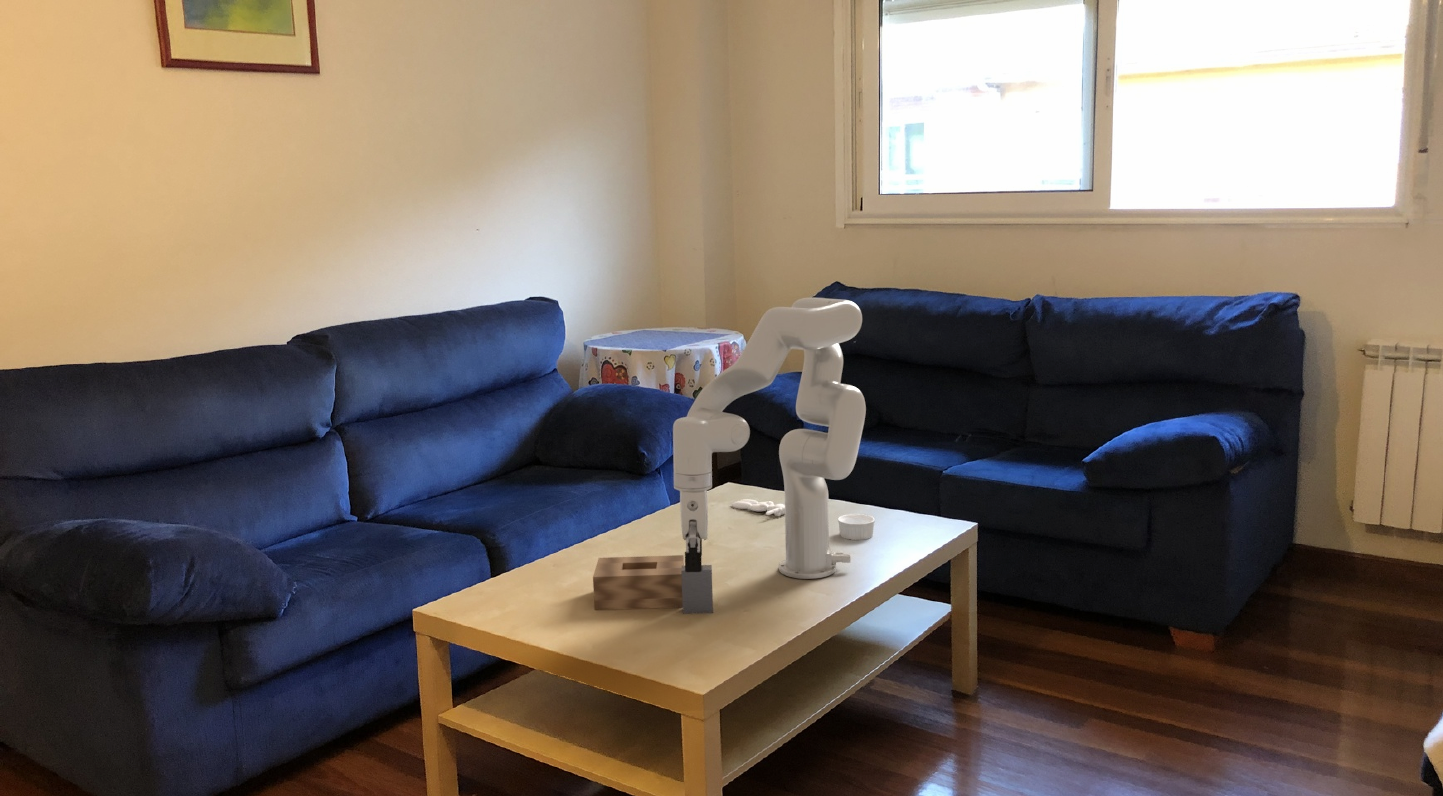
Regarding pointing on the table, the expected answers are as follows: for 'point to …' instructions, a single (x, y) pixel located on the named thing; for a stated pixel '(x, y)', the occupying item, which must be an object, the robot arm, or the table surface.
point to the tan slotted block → (638, 582)
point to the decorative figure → (760, 506)
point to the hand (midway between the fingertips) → (693, 563)
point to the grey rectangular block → (697, 590)
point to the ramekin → (856, 526)
